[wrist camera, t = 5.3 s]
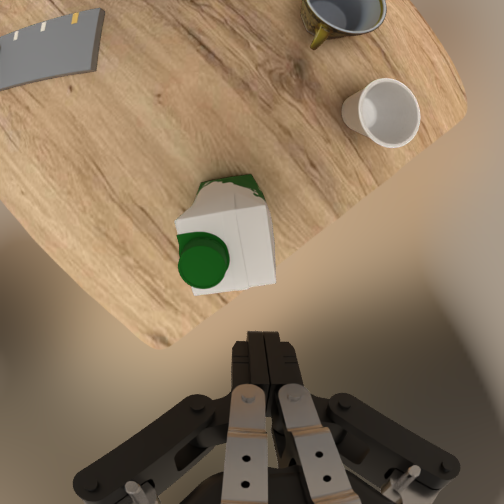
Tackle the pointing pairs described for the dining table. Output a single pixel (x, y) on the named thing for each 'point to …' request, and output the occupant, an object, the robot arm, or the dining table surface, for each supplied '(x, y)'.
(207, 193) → the soya milk
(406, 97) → the dixie cup
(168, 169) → the dining table surface
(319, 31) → the ceramic cup
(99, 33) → the board
